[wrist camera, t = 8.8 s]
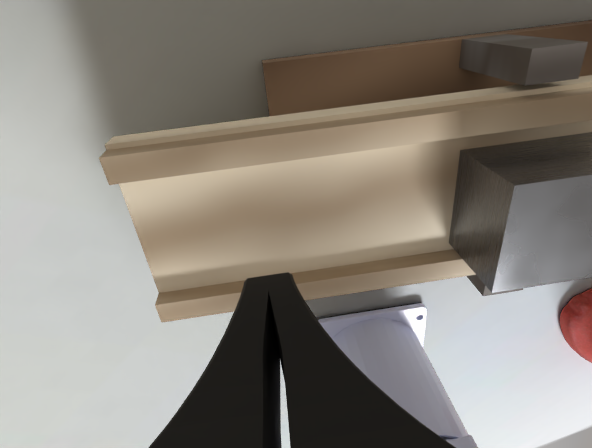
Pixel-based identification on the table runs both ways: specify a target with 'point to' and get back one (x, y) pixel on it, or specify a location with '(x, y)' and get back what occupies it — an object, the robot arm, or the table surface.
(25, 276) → the table surface
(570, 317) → the stacking bear
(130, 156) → the balance beam
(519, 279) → the block
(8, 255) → the table surface
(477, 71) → the beam stand
